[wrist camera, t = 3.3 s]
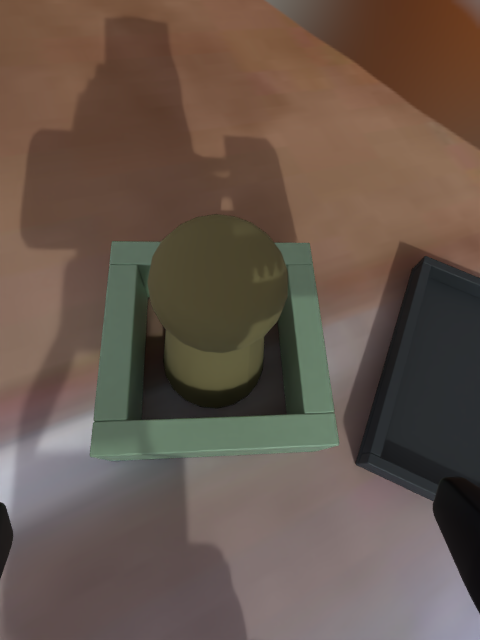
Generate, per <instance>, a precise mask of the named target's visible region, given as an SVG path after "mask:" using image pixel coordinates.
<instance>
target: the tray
mask: <svg viewBox="0 0 480 640" xmlns="http://www.w3.org/2000/svg"><path fill="white" fill-rule="evenodd" d="M356 465H358V466H360V467H362V468H364V469H366V470H368V471H370V472H373V473H375V474H377V475H379V476H381V477H383V478H385V479H387V480H390V481H392V482H394V483H396V484H398V485H400V486H402V487H404V488H407V489H409V490H411V491H413V492H415V493H417V494H419V495H421V496H424V497H426V498H428V499H430V500H432V501H434V499H435V495H436V492H437V489H438V485H439V482H440V480H441V479H442V478H444V477H463V478H465V479H467V480H468V481H470V482H471V483H473V484H475V485H476V486H478V487H479V488H480V278H478V277H476V276H473V275H471V274H468V273H466V272H464V271H461V270H459V269H456V268H454V267H451V266H449V265H446V264H444V263H442V262H439V261H437V260H434V259H432V258H429V257H427V256H424V258H423V259H422V260H421V261H420V262H419V263H418V264H417V265H416V266H415V267H414V268H413V269H412V272H411V275H410V279H409V282H408V285H407V289H406V292H405V296H404V299H403V303H402V306H401V309H400V313H399V316H398V320H397V323H396V327H395V330H394V333H393V337H392V340H391V344H390V347H389V351H388V354H387V357H386V361H385V364H384V368H383V371H382V375H381V378H380V381H379V385H378V388H377V392H376V395H375V399H374V402H373V405H372V409H371V412H370V416H369V419H368V423H367V426H366V429H365V433H364V436H363V440H362V443H361V447H360V450H359V453H358V457H357V460H356Z"/></svg>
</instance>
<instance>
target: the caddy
mask: <svg viewBox="0 0 480 640" xmlns="http://www.w3.org/2000/svg"><path fill="white" fill-rule="evenodd" d="M160 243H161V242H130V241H113V242H112V244H111V254H110V266H109V274H108V284H107V293H106V303H105V313H104V323H103V332H102V342H101V352H100V361H99V371H98V381H97V391H96V400H95V410H94V421H95V422H94V423H93V429H92V438H91V448H90V457H94V458H99V459H104V460H109V461H125V460H146V459H167V458H188V457H208V456H229V455H250V454H271V453H292V452H313V451H319V450H323V449H327V448H330V447H334V446H338V445H339V439H338V432H337V425H336V419H335V414H334V413H333V412H334V405H333V398H332V391H331V384H330V378H329V371H328V364H327V357H326V350H325V344H324V337H323V330H322V323H321V316H320V310H319V303H318V296H317V289H316V283H315V276H314V269H313V262H312V256H311V249H310V243H275V245H276V246H277V247H278V249H279V250H280V251H281V253H282V256H283V259H284V261H285V264H286V267H287V271H288V297H287V300H286V302H285V305H284V307H283V310H282V312H281V315H280V317H279V319H278V330H279V341H280V351H281V361H282V372H283V382H284V392H285V402H286V413H287V414H285V415H259V416H232V417H206V418H179V419H153V420H141V419H142V400H143V381H144V363H145V344H146V325H147V306H148V297H150V295H149V290H148V284H147V282H148V277H149V271H150V266H151V261H152V256H153V255H154V253H155V251H156V250H157V248H158V246H159V245H160Z"/></svg>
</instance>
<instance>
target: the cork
mask: <svg viewBox="0 0 480 640" xmlns="http://www.w3.org/2000/svg"><path fill="white" fill-rule="evenodd" d="M147 284H148V290H149V295H150V301H151V305H152V307H153V310H154V312H155V313H156V315H157V317H158V319H159V320H160V322H161V324H162V325H163V327H164V328H165V329H166V335H165V347H164V359H163V362H164V368H165V373H166V377H167V379H168V380H169V382H170V384H171V386H172V388H173V389H174V390H175V391H176V392H177V393H178V394H179V395H180V396H181V397H182V398H184V399H185V400H186V401H188V402H191V403H193V404H195V405H198V406H200V407H208V408H221V407H225V406H229V405H233V404H235V403H236V402H238V401H240V400H241V399H243V398H245V397H246V396H247V395H248V394H249V393H250V392H251V391H252V389H253V388H254V387H255V386H256V385H257V383H258V380H259V378H260V375H261V373H262V370H263V352H264V336H265V335H266V334H267V333H268V331H269V330H270V329H271V328H272V327H273V326H274V325H275V323H276V322H277V321H278V319H279V317H280V315H281V312H282V310H283V307H284V305H285V302H286V300H287V297H288V271H287V267H286V264H285V261H284V259H283V256H282V253H281V251H280V250H279V249H278V247H277V246H276V245H275V243H274V242H273V241H272V239H271V238H270V237H269V236H268V235H267V234H266V233H265V232H264V231H262V230H261V229H260V228H258V227H257V226H255V225H254V224H253V223H251V222H248V221H246V220H243V219H240V218H238V217H235V216H227V215H218V214H214V215H208V216H201V217H196V218H194V219H192V220H190V221H187V222H185V223H183V224H181V225H179V226H178V227H177V228H176V229H175V230H173V231H172V232H171V233H170V234H169V235H168V236H166V237H165V238H164V239H163V240H162V241H161V243H160V245H159V246H158V248H157V250H156V251H155V253H154V255H153V256H152V261H151V266H150V271H149V277H148V282H147Z"/></svg>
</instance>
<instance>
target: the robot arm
mask: <svg viewBox="0 0 480 640" xmlns="http://www.w3.org/2000/svg"><path fill="white" fill-rule="evenodd" d="M433 513H434V516H435V519H436V521H437V523H438V526H439V528H440V530H441V532H442V535H443V537H444V539H445V541H446V544H447V546H448V548H449V550H450V553H451V555H452V557H453V559H454V562H455V564H456V566H457V568H458V571H459V573H460V575H461V577H462V580H463V582H464V584H465V586H466V588H467V590H468V592H469V594H470V596H471V598H472V600H473V602H474V604H475V606H476V608H477V610H478V611H479V613H480V488H479V487H478V486H476V485H475V484H473V483H471V482H470V481H468V480H467V479H465V478H463V477H444V478H442V479H441V480H440V482H439V485H438V489H437V492H436V495H435V499H434V502H433ZM12 541H13V530H12V526H11V523H10V519H9V516H8V512H7V509H6V506H5V505H4V504H3V503H1V502H0V578H1V575H2V572H3V569H4V566H5V563H6V561H7V558H8V555H9V552H10V549H11V545H12Z"/></svg>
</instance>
